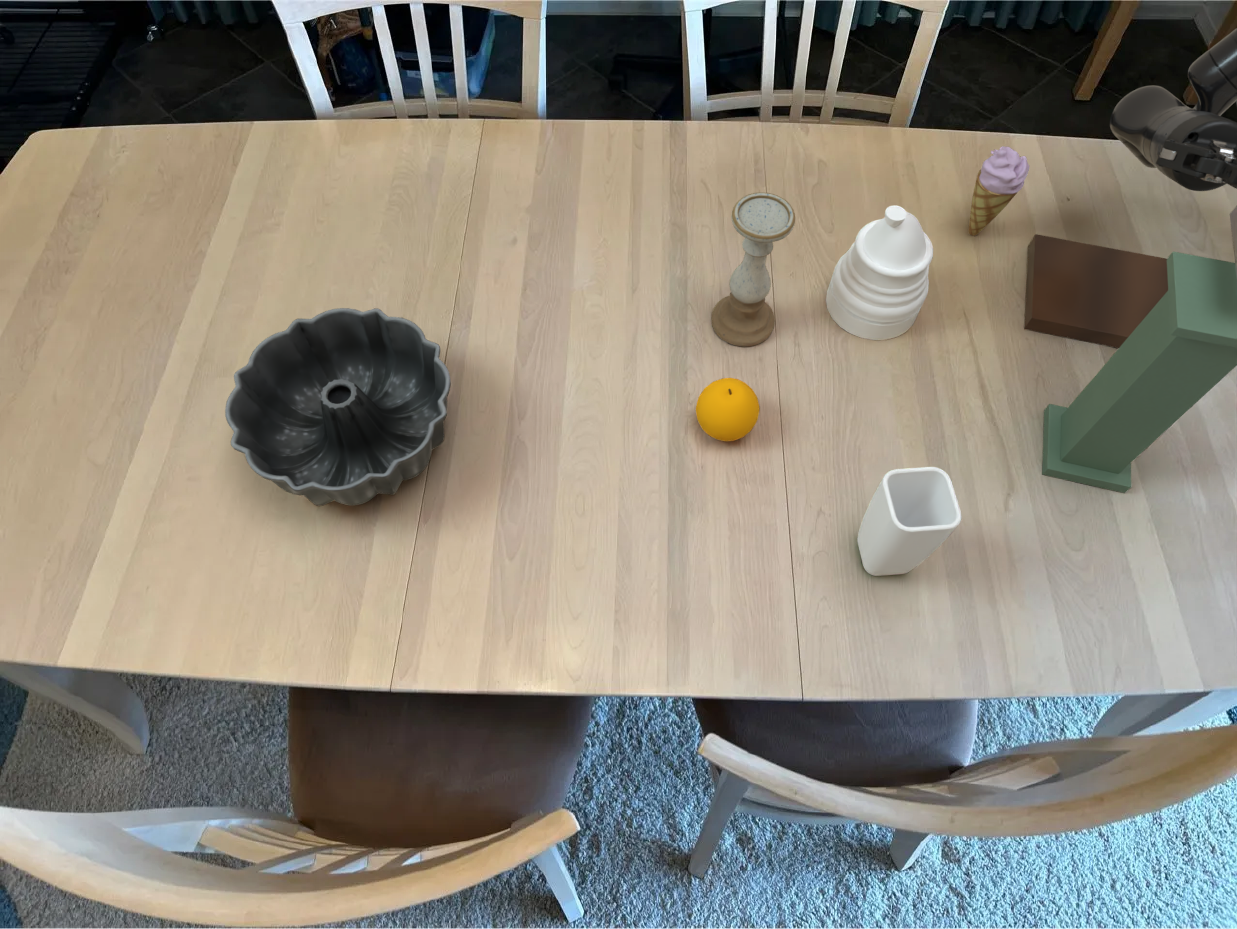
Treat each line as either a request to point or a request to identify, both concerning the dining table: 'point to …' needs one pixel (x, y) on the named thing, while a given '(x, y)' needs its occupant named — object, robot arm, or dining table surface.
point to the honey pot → (882, 277)
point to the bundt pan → (340, 405)
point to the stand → (1148, 377)
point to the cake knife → (1234, 231)
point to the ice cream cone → (996, 186)
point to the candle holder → (752, 270)
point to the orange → (727, 409)
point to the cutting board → (1090, 290)
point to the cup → (907, 520)
